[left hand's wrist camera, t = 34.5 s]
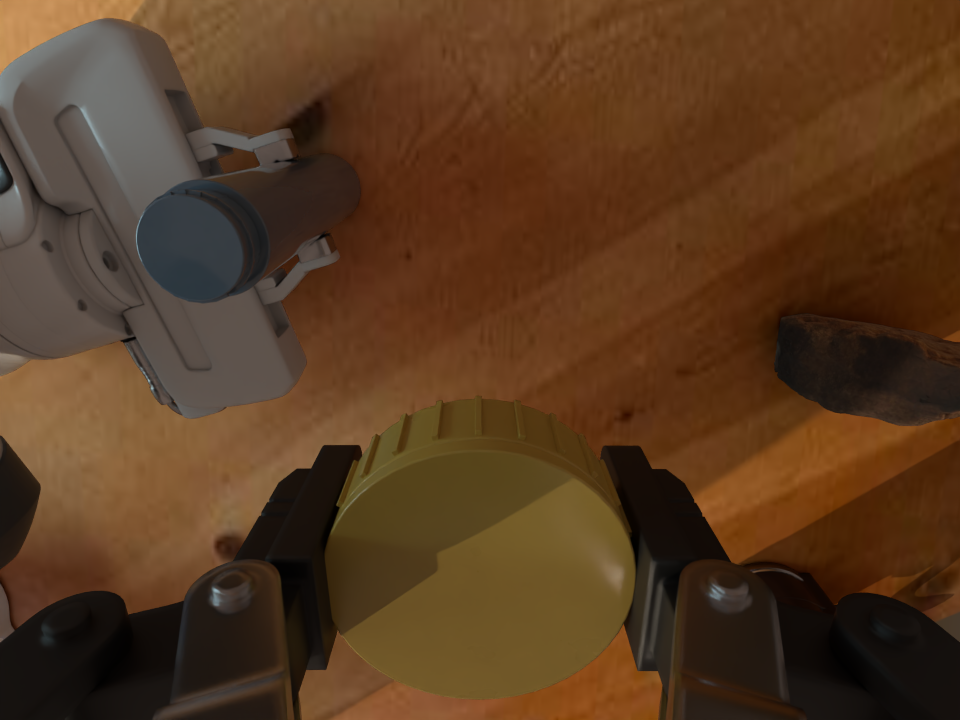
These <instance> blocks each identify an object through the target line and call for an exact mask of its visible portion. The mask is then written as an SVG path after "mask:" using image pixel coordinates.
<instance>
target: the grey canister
mask: <svg viewBox="0 0 960 720" xmlns="http://www.w3.org/2000/svg"><path fill="white" fill-rule="evenodd" d="M360 194H361V188H360V182H359V179H358V176H357V174H356V172H355V171H354V169H353V168H352V167H351V166H350V164H349V163H347V162H346V161H345V160H343V159H342V158H340V157H338V156H336V155H333V154H327V153H320V154H315V155H310V156H305V157H300V158H296V159H291V160H287V161H281V162H276V163H271V164H267V165H262V166H257V167H252V168H247V169H242V170H237V171H233V172H228V173H223V174H218V175H213V176H208V177H203V178H199V179H194V180H189V181H185V182H182V183H179V184H177V185H175V186H173V187H172V188H170V189H169V190H168V191H166V192H165V194H163V195H161V196H159V197H157V198H156V199H155V200H153V201H152V202H151V203H150V204H149V205H148V206H147V207H146V208H145V210H144V212H143V214H142V216H141V218H140V219H139V222H138V226H137V231H136V245H137V251H138V254H139V257H140V260H141V262H142V264H143V266H144V268H145V269H146V271H147V272H148V274H149V275H150V276H151V277H152V278H153V280H154V281H155V282H157V283H158V284H159V285H160V286H161V288H163V289H165V290H166V291H168V292H169V293H171V294H173V295H174V296H175V297H178V298H181V299H184V300H186V301H188V302H196V303H202V304H203V303H211V302H217V301H220V300H222V299H224V298H227V297H230V296H235V295H238V294H241V293H244V292H246V291H248V290H249V289H251V288H252V287H253V286H255V285H256V284H257V283H259V282H260V281H261V280H263V279H264V278H266V277H267V276H268V275H270V274H271V273H272V272H274V271H275V270H276V269H278V268H279V267H280V266H282V265H283V264H284V263H286V262H287V261H289V260H290V259H291V258H293V257H294V256H295V255H297V254H298V253H299V252H301V251H302V250H303V249H305V248H306V247H307V246H309V245H310V244H311V243H313V242H314V241H316V240H317V239H318V238H320V237H321V236H322V235H324V234H325V233H326V232H328V231H329V230H330V229H332V228H333V227H334V226H336V225H337V224H339V223H340V222H341V221H343V220H344V219H345V218H347V217H348V216H349V215H350V214H351V213H353V211H354V210H355V209H356V207H357V205H358V203H359V199H360Z"/></svg>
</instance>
